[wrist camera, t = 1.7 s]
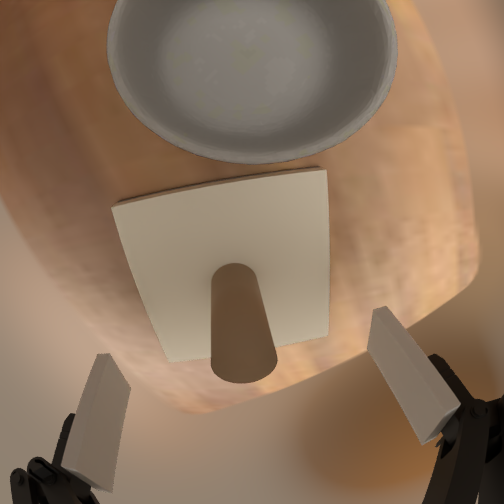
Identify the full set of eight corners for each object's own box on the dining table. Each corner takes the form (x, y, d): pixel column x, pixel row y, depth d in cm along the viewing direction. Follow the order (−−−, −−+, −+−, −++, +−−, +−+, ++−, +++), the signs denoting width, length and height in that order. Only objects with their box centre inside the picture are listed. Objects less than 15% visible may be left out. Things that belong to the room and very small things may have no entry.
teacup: (353, 110, 16) (435, 110, 8) (200, 180, 17) (187, 222, 9) (258, -50, 10) (282, -117, 2) (108, 11, 11) (52, -38, 3)
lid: (116, 203, 16) (54, 259, 9) (320, 167, 17) (391, 200, 9) (170, 354, 22) (160, 435, 14) (324, 328, 22) (359, 403, 15)
